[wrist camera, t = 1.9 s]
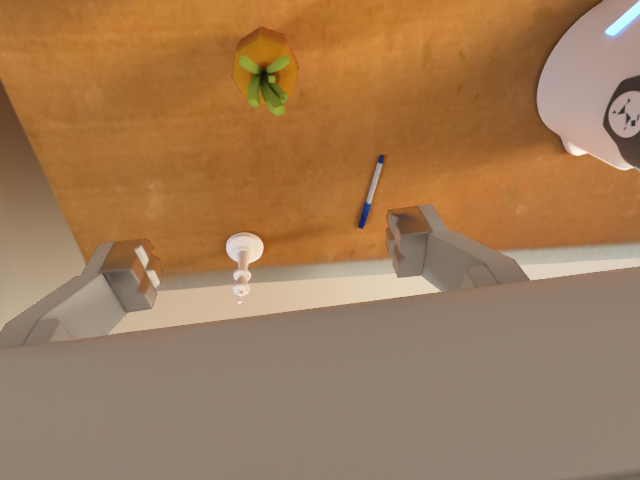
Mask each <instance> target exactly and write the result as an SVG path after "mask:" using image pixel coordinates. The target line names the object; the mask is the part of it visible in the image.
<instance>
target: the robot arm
mask: <svg viewBox="0 0 640 480" xmlns="http://www.w3.org/2000/svg"><path fill="white" fill-rule="evenodd" d="M537 108H538V112H539V115H540V117H541V119H542V121H543V122H544V124H545V125H546V126H547V127H548V128H549V129H550V130H552V131H553V132H555V133H556V134H558V135H559V136H560V137H561V139H562V142H563V145H564V148H565V150H566V151H567V152H568V153H570V154H572V155H575V156H579V155H583V154H586V153H588V154H590V155H592V156H594V157H596V158H598V159H600V160H602V161H604V162H606V163H608V164H610V165H612V166H614V167H616V168H618V169H621V170H628V169H629V168H635V169H637V170H638V172H640V0H603V1H602V2H601V3H599V4H598V5H596V6H595V7H593V8H592V9H591V10H589V11H588V12H587V13H586V14H584V15H583V16H582V17H581V18H580V19H578V20H577V21H576V22H575V23H574V24H573V25H572V26H571V27H570V28H569V29H568V31H567V32H566V33H565V34H564V35H563V37H562V38H561V39H560V40H559V42H558V43H557V45H556V46H555V47H554V49H553V51H552V52H551V54H550V56H549V57H548V59H547V61H546V63H545V66H544V68H543V71H542V73H541V76H540V80H539V83H538V89H537ZM386 221H387V223H388V226H389V227H388V228H387V229H386V235H385V238H386V247H387V251H388V254H389V256H390V257H392V258H393V267H394V269H395V272H396V274H397V277H398V278H400V277H410V276H420V275H422V276H423V277H424V278H425V279H426V280H428V281H429V282H430V283H431V284H433V285H434V286H435V287H437V288H438V289H439V290H441V291H442V292H438V293H431V294H423V295H415V296H408V297H399V298H392V299H384V300H376V301H369V302H360V303H353V304H345V305H337V306H329V307H322V308H314V309H306V310H299V311H291V312H283V313H275V314H267V315H260V316H252V317H244V318H236V319H229V320H220V321H213V322H205V323H197V324H189V325H181V326H173V327H166V328H158V329H150V330H143V331H134V332H127V333H119V334H111V335H107V334H108V333H109V332H110V331H111V330H112V329H113V328H114V327H115V326H116V325H117V324H118V322H120V320H121V319H122V318H123V317H124V316H125V315H126V314H127V313H128V312H134V311H140V310H147V309H152V308H153V305H154V302H155V299H156V296H157V293H156V291H155V288H157V287H158V286H159V285H160V284H161V280H162V267H161V263H160V261H159V258H158V257H156V256H155V255H153V254H152V251H153V246H152V244H151V242H150V240H148V239H135V240H125V241H117V242H107V243H101V244H99V245H98V246H97V248H96V250H95V251H94V253H93V255H92V257H91V258H90V260H89V262H88V263H87V265H86V267H85V269H84V270H83V272H82V274H81V276H76V277H74V278H72V279H71V280H70V281H68V282H67V283H65V284H64V285H62V286H61V287H59V288H58V289H56V290H55V291H54V292H52V293H51V294H49V295H47V296H46V297H45V298H43V299H42V300H40V301H39V302H37V303H36V304H34V305H33V306H31V307H30V308H28V309H27V310H25V311H24V312H22V313H21V314H20V315H18V316H17V317H15V318H14V319H12V320H11V321H9V322H8V323H7V324H6V325H5V326H4V328H3V329H2V331H1V332H0V480H640V267H632V268H624V269H616V270H609V271H601V272H594V273H586V274H578V275H570V276H563V277H555V278H547V279H539V280H532V281H530V279H529V278H528V277H527V275H526V274H525V273H524V272H523V270H522V269H521V268H520V266H519V265H518V264H517V262H516V261H515V260H514V259H512V258H510V257H508V256H506V255H503V254H501V253H499V252H497V251H495V250H493V249H491V248H489V247H487V246H485V245H483V244H481V243H479V242H476V241H474V240H472V239H470V238H468V237H466V236H464V235H462V234H460V233H458V232H456V231H454V230H450V231H449V230H448V229H447V227H446V226H445V224H444V222H443V221H442V219H441V218H440V216H439V215H438V213H437V211H436V210H435V208H434V207H433V205H432V204H424V205H418V206H413V207H406V208H398V209H391V210H387V214H386Z"/></svg>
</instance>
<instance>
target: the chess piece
mask: <svg viewBox="0 0 640 480" xmlns="http://www.w3.org/2000/svg"><path fill="white" fill-rule="evenodd" d="M263 248H264V246H263V242H262V241H261V239H260V238H259V237H257V236H256V235H254V234H252V233H247V232H241V233H237V234H234V235H232V236H231V237H230V238H229V239H228V241H227V243H226V251H227V254H228V255H229V257H230V258H231V259H233V260H234V261H236V262H238V267H239V269H238V270H236V271H235V272H234V274H233V276H234V279H235V280H236V282H235V284H234V285H233V288H232V291H233V293H234V294H236V295H238V301H237V303H238V304H242V297H243V296H244V295H246V294H248V293H249V291H250V288H249V285H248V283H247V281H249V280H250V278H251V273H250V272H249V271H248V270H247V268H248V264H249V263H251V262H254V261H256V260H258V259H259V258H260V257H261V255H262V253H263Z"/></svg>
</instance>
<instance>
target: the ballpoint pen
mask: <svg viewBox="0 0 640 480" xmlns="http://www.w3.org/2000/svg"><path fill="white" fill-rule="evenodd" d="M383 160H384V156H383V155H381V156H380V158H379V160H378V163H377V166H376V170H375V173H374V176H373V180H372V183H371V187H370V190H369V194H368V197H367V200H366V202H365V206H364V209H363V213H362V216H361V220H360V224H359V228H361V229H363V227H364V225H365V222H366V219H367V215H368V212H369V209H370V206H371V201H372V198H373V195H374V191H375V188H376V185H377V182H378V178H379V175H380V172H381V168H382V165H383Z"/></svg>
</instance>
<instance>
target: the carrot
mask: <svg viewBox="0 0 640 480" xmlns="http://www.w3.org/2000/svg"><path fill="white" fill-rule="evenodd" d="M298 71H299V66H298V62H297V60H296V57H295V55H294V53H293V51H292V49H291V48H290V46H289V44H288V42H287V40H286V38H285V36H284V34H282V33H279V32H276V31H273V30H270V29H267V28H264V27H259V28H258V29H256V30H255V31H253V32H252V33H250V34H249V35H247V36H245V37H244V38H242V39H241V40H240V42H239V43H238V45H237V47H236V51H235V58H234V64H233V70H232V79H233V80H234V82H235V83H236V85H237V86H238V88H239V89H240V91H241V92H242V94H243V95H244V97H245V99H246V100H247V101H249V104H250V105H251V106H252V107H257V106H259V104H261V105H264V106H267V107H268V108H269V110H270V111H271V112H272V113H273V115H274V116H279V115H282V114H284V112H285V108H284V105H283V104H282V103H285V102H287V101H288V97H289V96H291V95H292V94H293V90H294V86H295V82H296V78H297V75H298Z"/></svg>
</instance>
